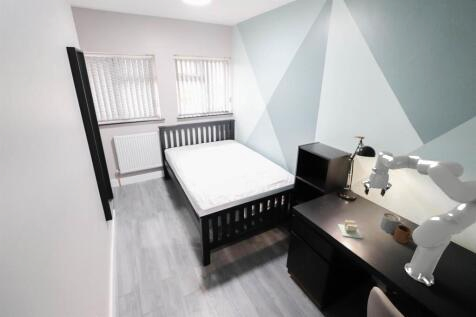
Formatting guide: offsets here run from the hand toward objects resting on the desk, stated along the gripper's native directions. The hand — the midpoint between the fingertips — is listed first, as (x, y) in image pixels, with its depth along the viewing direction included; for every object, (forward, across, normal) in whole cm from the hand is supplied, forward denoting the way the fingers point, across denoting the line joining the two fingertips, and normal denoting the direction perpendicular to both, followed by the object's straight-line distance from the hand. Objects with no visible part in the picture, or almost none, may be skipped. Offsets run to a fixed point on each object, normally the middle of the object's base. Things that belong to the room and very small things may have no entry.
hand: (374, 194), depth 143 cm
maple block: (+28, -11, -4) cm, 30 cm away
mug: (+28, +21, -9) cm, 37 cm away
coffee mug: (+28, +19, +3) cm, 34 cm away
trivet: (+28, -11, -4) cm, 31 cm away
